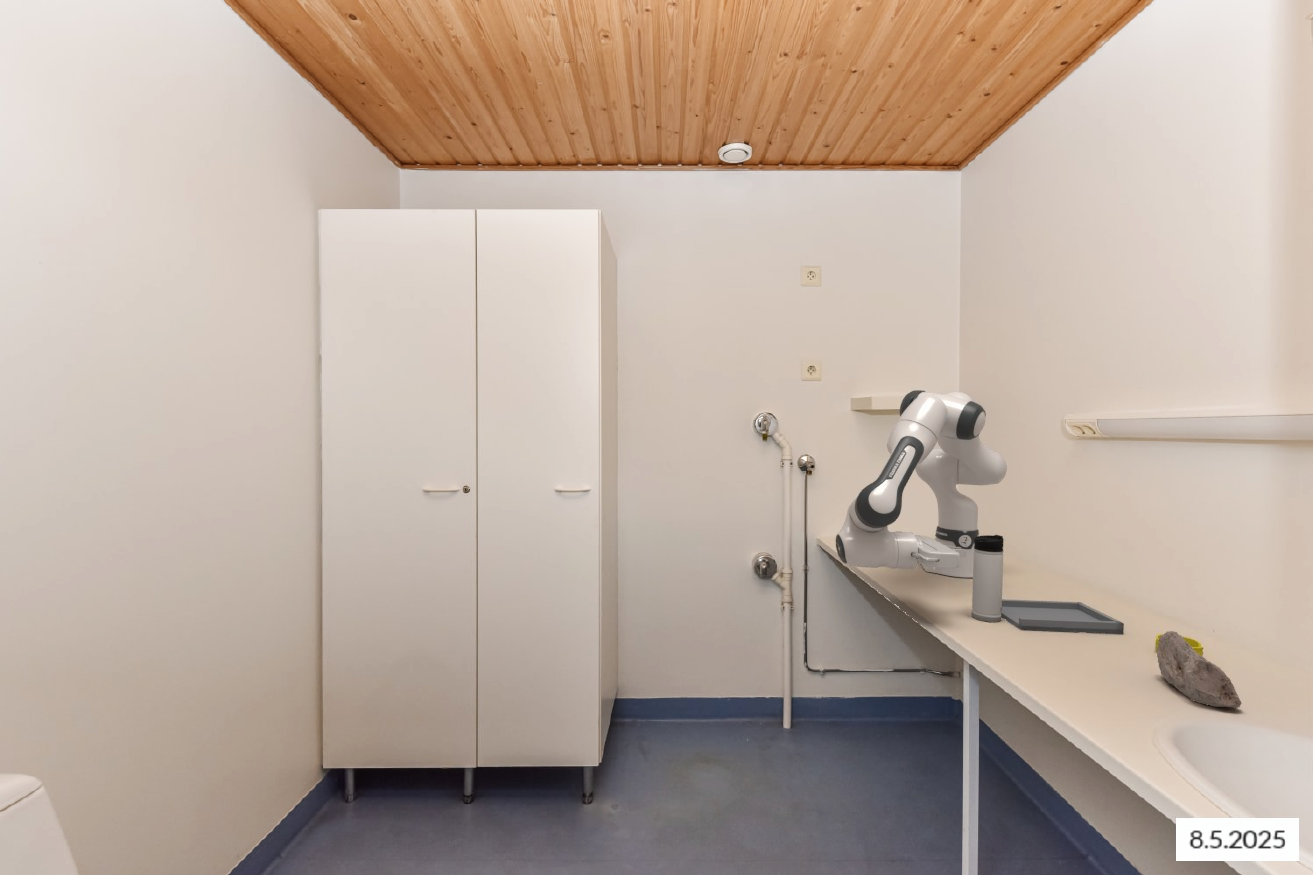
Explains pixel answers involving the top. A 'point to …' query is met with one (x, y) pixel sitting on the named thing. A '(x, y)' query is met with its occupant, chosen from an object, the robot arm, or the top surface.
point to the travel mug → (987, 578)
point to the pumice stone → (1194, 673)
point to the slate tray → (1058, 617)
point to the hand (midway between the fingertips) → (964, 552)
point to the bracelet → (1192, 642)
